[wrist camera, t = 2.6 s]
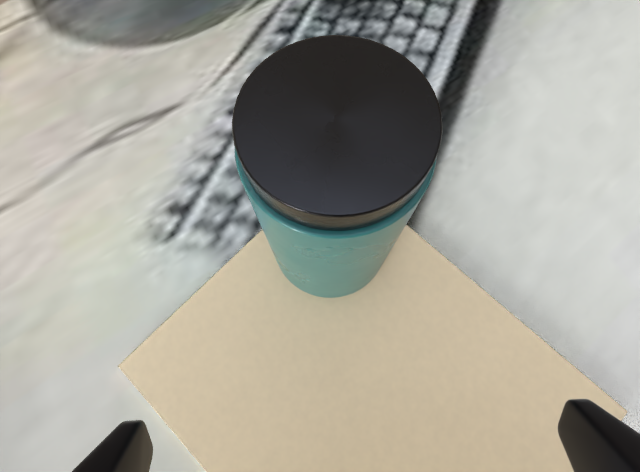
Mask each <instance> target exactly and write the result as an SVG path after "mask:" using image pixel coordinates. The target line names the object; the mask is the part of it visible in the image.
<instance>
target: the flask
mask: <svg viewBox="0 0 640 472" xmlns="http://www.w3.org/2000/svg"><path fill="white" fill-rule="evenodd" d="M232 134H233V140H234V146H235V160H236V166H237V170H238V173H239V176H240V179H241V182H242V184H243V186H244V188H245V191H246V193H247V195H248V197H249V200H250V202H251V204H252V206H253V209H254V211H255V213H256V215H257V218H258V220H259V222H260V225H261V227H262V229H263V231H264V234H265V236H266V238H267V240H268V243H269V245H270V247H271V249H272V252H273V254H274V256H275V258H276V261H277V263H278V265H279V267H280V269H281V271H282V272H283V274H284V275H285V277H286V278H287V279H288V280H289V281H290V282H291V283H292V284H293V285H295V286H296V287H297V288H299V289H300V290H302V291H304V292H306V293H308V294H311V295H314V296H318V297H324V298H335V297H342V296H346V295H349V294H352V293H354V292H356V291H358V290H360V289H362V288H363V287H364V286H366V285H367V284H368V283H369V282H370V281H371V280H372V279H373V278H374V277H375V275H376V274H377V272H378V271H379V269H380V267H381V266H382V264H383V262H384V261H385V259H386V257H387V256H388V254H389V252H390V251H391V249H392V247H393V246H394V244H395V242H396V241H397V239H398V237H399V235H400V234H401V232H402V230H403V229H404V227H405V225H406V224H407V222H408V220H409V219H410V217H411V215H412V214H413V212H414V210H415V209H416V207H417V205H418V204H419V202H420V200H421V198H422V197H423V195H424V193H425V192H426V190H427V188H428V186H429V184H430V182H431V179H432V177H433V174H434V170H435V166H436V158H437V155H438V152H439V148H440V144H441V139H442V116H441V111H440V107H439V103H438V100H437V98H436V95H435V92H434V91H433V89H432V87H431V85H430V83H429V82H428V80H427V79H426V78H425V76H424V75H423V74H422V72H421V71H420V70H419V69H418V68H417V67H416V66H415V65H414V64H413V63H412V62H410V61H409V60H408V59H407V58H406V57H404V56H403V55H401V54H400V53H398V52H396V51H395V50H393V49H391V48H389V47H387V46H385V45H383V44H380V43H377V42H375V41H372V40H368V39H364V38H360V37H354V36H345V35H329V36H319V37H313V38H308V39H305V40H301V41H298V42H295V43H293V44H290V45H288V46H286V47H284V48H282V49H280V50H278V51H277V52H275V53H273V54H272V55H271V56H269V57H268V58H266V59H265V60H264V61H263V62H262V63H261V64H260V65H258V66H257V67H256V68H255V70H254V71H253V72H252V73H251V74H250V76H249V77H248V78H247V80H246V82H245V83H244V85H243V86H242V88H241V90H240V93H239V95H238V97H237V100H236V104H235V107H234V111H233V119H232Z"/></svg>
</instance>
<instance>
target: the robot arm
mask: <svg viewBox="0 0 640 472" xmlns="http://www.w3.org/2000/svg"><path fill="white" fill-rule="evenodd" d="M558 434H559V437H560V440H561V442H562V444H563V447H564V449H565V451H566V454H567V456H568V459H569V461H570V463H571V466H572V468H573V470H574V472H640V434H639V433H638V432H636V431H635V430H633V429H632V428H630V427H629V426H627V425H626V424H624V423H623V422H622V421H620V420H619V419H617V418H616V417H614V416H613V415H611V414H610V413H608V412H607V411H606V410H604V409H603V408H601V407H600V406H598V405H597V404H595V403H594V402H592V401H591V400H588V399H570V400H568V401H566V403H565V405H564V408H563V411H562V414H561V417H560V419H559V422H558ZM152 455H153V446H152V442H151V439H150V436H149V433H148V431H147V428H146V425H145V423H144V422H143V421H141V420H136V421H124V422H122V423H121V424H120V425H118V426H117V427H116V428H115V429H114V430H113V431H112V432H111V433H110V434H109V435H108V436H107V437H106V438H105V439H104V440H103V441H102V442H101V443H100V444H99V445H98V446H97V447H96V448H95V449H94V450H93V451H92V452H91V453H90V454H89V455H88V456H87V457H86V458H85V459H84V460H83V461H82V462H81V463H80V464H79V465H78V466H77V467H76V468H75V469H74V470H73V471H72V472H149V469H150V464H151V460H152Z"/></svg>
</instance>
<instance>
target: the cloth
mask: <svg viewBox="0 0 640 472" xmlns="http://www.w3.org/2000/svg"><path fill="white" fill-rule="evenodd" d="M118 367H119V368H120V369H121V370H122V372H123V373H124V374H125V375H126V376H127V378H128V379H129V380H130V381H131V382H132V384H133V385H134V386H135V387H136V388H137V389H138V391H139V392H140V393H141V394H142V395H143V397H144V398H145V399H146V400H147V401H148V403H149V404H150V405H151V406H152V407H153V409H154V410H155V411H156V412H157V413H158V414H159V416H160V417H161V418H162V419H163V420H164V422H165V423H166V424H167V425H168V426H169V428H170V429H171V430H172V431H173V432H174V434H175V435H176V436H177V437H178V438H179V439H180V441H181V442H182V443H183V444H184V445H185V447H186V448H187V449H188V450H189V451H190V453H191V454H192V455H193V456H194V457H195V458H196V460H197V461H198V462H199V463H200V464H201V466H202V467H203V468H204V469H205V470H206V472H574V470H573V468H572V466H571V463H570V461H569V459H568V456H567V454H566V451H565V449H564V447H563V444H562V442H561V440H560V437H559V434H558V422H559V419H560V417H561V414H562V411H563V408H564V405H565V403H566V401H568V400H570V399H588V400H591V401H592V402H594V403H595V404H597V405H598V406H600V407H601V408H603V409H604V410H606V411H607V412H608V413H610V414H611V415H613V416H614V417H616V418H617V419H619V420H620V421H622V419H623V418H624V416H625V415H626V413H627V411H626V410H625V409H624V408H623V407H622V406H620V405H619V404H618V403H617V402H616V401H614V400H613V399H612V398H611V397H610V396H609V395H607V394H606V393H605V392H604V391H603V390H601V389H600V388H599V387H598V386H597V385H595V384H594V383H593V382H592V381H591V380H590V379H588V378H587V377H586V376H585V375H584V374H582V373H581V372H580V371H579V370H578V369H577V368H575V367H574V366H573V365H572V364H571V363H569V362H568V361H567V360H566V359H565V358H564V357H562V356H561V355H560V354H559V353H558V352H556V351H555V350H554V349H553V348H552V347H551V346H549V345H548V344H547V343H546V342H545V341H543V340H542V339H541V338H540V337H539V336H538V335H536V334H535V333H534V332H533V331H532V330H530V329H529V328H528V327H527V326H526V325H524V324H523V323H522V322H521V321H520V320H519V319H517V318H516V317H515V316H514V315H513V314H511V313H510V312H509V311H508V310H507V309H506V308H504V307H503V306H502V305H501V304H500V303H498V302H497V301H496V300H495V299H494V298H493V297H491V296H490V295H489V294H488V293H487V292H485V291H484V290H483V289H482V288H481V287H480V286H478V285H477V284H476V283H475V282H474V281H472V280H471V279H470V278H469V277H468V276H466V275H465V274H464V273H463V272H462V271H461V270H459V269H458V268H457V267H456V266H455V265H453V264H452V263H451V262H450V261H449V260H448V259H446V258H445V257H444V256H443V255H442V254H440V253H439V252H438V251H437V250H436V249H435V248H433V247H432V246H431V245H430V244H429V243H427V242H426V241H425V240H424V239H423V238H422V237H420V236H419V235H418V234H417V233H416V232H414V231H413V230H412V229H411V228H410V227H409V226H407V225H405V227H404V229H403V230H402V232H401V234H400V235H399V237H398V239H397V241H396V242H395V244H394V246H393V247H392V249H391V251H390V252H389V254H388V256H387V257H386V259H385V261H384V262H383V264H382V266H381V267H380V269H379V271H378V272H377V274H376V275H375V277H374V278H373V279H372V280H371V281H370V282H369V283H368V284H367V285H366V286H364V287H363V288H362V289H360V290H358V291H356V292H354V293H352V294H349V295H346V296H342V297H335V298H324V297H318V296H314V295H311V294H308V293H306V292H304V291H302V290H300V289H299V288H297V287H296V286H295V285H293V284H292V283H291V282H290V281H289V280H288V279H287V278H286V277H285V275H284V274H283V272H282V271H281V269H280V267H279V265H278V263H277V261H276V258H275V256H274V254H273V252H272V249H271V247H270V245H269V243H268V240H267V238H266V236H265V234H264V231H263V229H262V230H261V231H260V232H259V233H258V234H257V235H256V236H255V237H254V238H253V239H252V240H251V241H250V242H248V243H247V244H246V245H245V246H244V247H243V248H242V249H241V250H240V251H239V252H238V253H237V254H236V255H235V256H234V257H233V258H232V259H231V260H229V261H228V262H227V263H226V264H225V265H224V266H223V267H222V268H221V269H220V270H219V271H218V272H217V273H216V274H215V275H214V276H213V277H212V278H210V279H209V280H208V281H207V282H206V283H205V284H204V285H203V286H202V287H201V288H200V289H199V290H198V291H197V292H196V293H195V294H194V295H193V296H191V297H190V298H189V299H188V300H187V301H186V302H185V303H184V304H183V305H182V306H181V307H180V308H179V309H178V310H177V311H176V312H175V313H174V314H172V315H171V316H170V317H169V318H168V319H167V320H166V321H165V322H164V323H163V324H162V325H161V326H160V327H159V328H158V329H157V330H156V331H155V332H153V333H152V334H151V335H150V336H149V337H148V338H147V339H146V340H145V341H144V342H143V343H142V344H141V345H140V346H139V347H138V348H137V349H135V350H134V351H133V352H132V353H131V354H130V355H129V356H128V357H127V358H126V359H125V360H124V361H123V362H122V363H121V364H120V365H119V366H118Z"/></svg>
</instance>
